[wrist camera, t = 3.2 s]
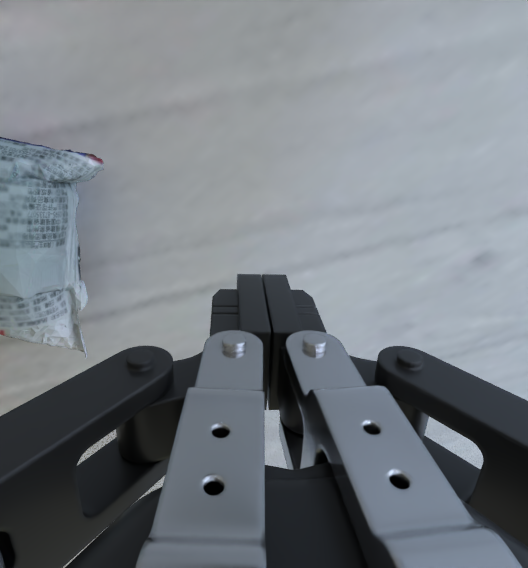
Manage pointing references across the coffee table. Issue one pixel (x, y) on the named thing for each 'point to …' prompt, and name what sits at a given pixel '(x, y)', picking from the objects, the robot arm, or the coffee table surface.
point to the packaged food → (41, 243)
